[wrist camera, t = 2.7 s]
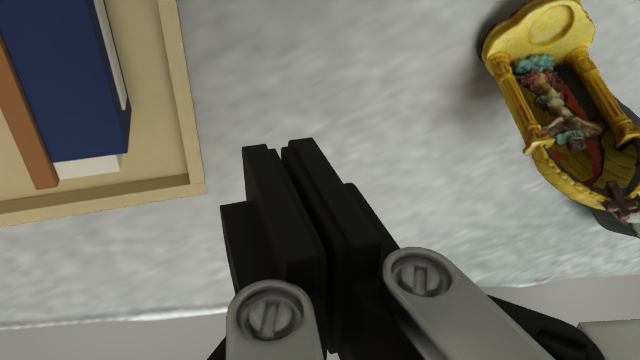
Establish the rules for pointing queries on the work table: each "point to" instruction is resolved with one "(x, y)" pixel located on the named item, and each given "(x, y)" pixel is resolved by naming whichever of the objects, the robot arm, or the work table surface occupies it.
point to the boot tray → (145, 128)
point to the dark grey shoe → (636, 224)
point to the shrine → (565, 104)
